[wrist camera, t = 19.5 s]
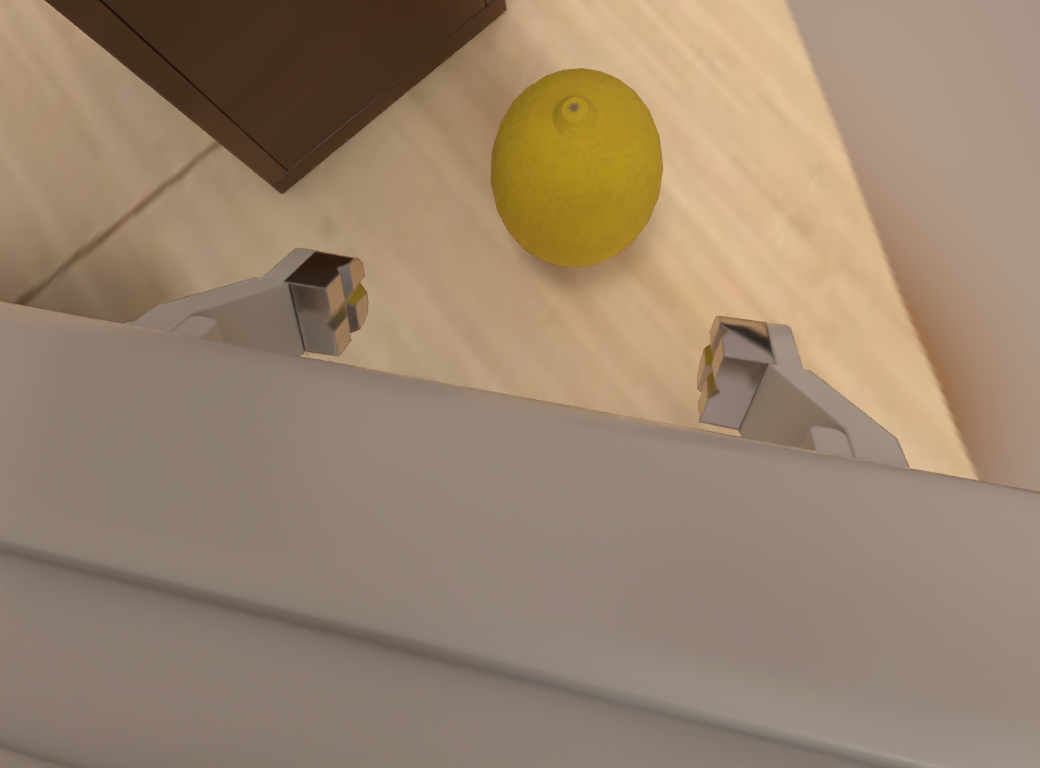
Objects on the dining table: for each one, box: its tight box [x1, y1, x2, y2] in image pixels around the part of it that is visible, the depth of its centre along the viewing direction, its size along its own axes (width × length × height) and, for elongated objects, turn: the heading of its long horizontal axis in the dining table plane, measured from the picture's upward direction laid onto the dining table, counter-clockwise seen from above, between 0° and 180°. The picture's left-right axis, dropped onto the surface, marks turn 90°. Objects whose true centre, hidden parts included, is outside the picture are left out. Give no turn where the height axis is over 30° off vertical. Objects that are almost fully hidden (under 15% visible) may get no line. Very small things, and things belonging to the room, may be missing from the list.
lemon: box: [491, 68, 663, 267], centre depth 19 cm, size 6×6×8 cm
